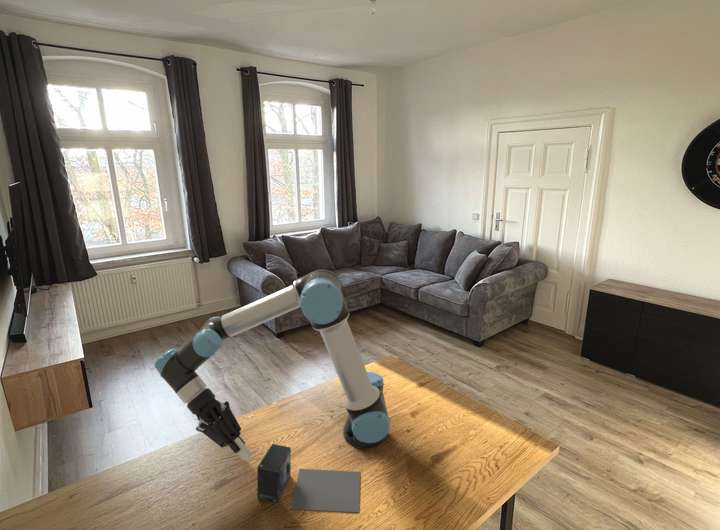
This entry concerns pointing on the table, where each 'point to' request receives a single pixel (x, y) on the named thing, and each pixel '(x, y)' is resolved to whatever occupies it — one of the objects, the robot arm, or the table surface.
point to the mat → (327, 491)
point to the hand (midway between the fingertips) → (248, 457)
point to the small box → (273, 473)
